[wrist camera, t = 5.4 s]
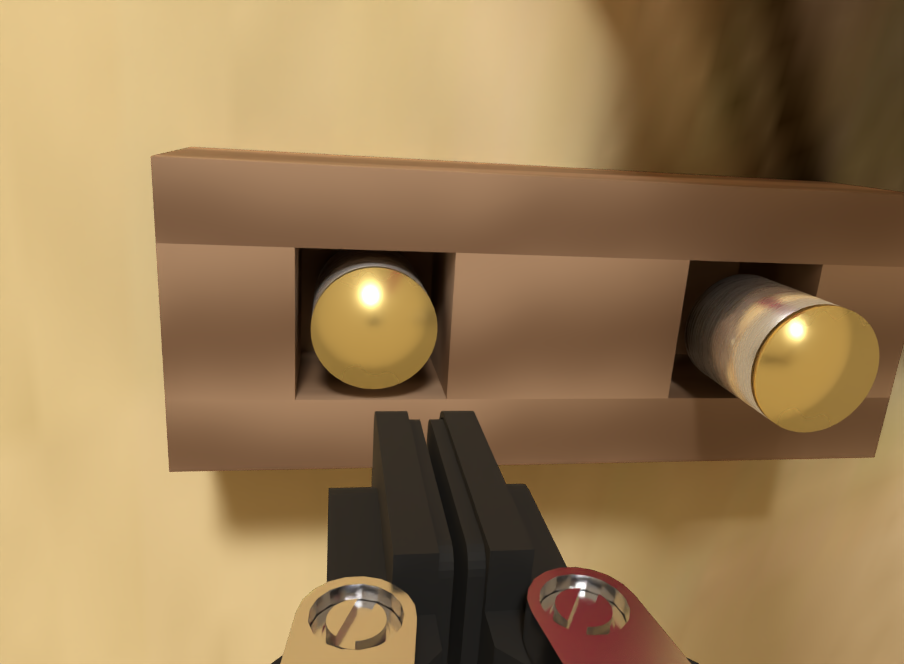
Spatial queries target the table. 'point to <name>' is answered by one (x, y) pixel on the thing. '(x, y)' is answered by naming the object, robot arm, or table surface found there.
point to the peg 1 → (372, 318)
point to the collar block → (499, 304)
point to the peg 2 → (783, 351)
